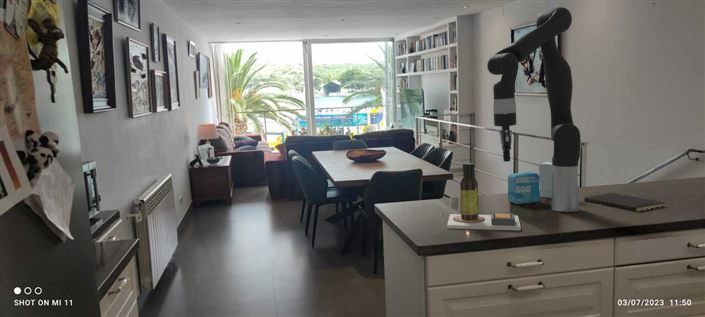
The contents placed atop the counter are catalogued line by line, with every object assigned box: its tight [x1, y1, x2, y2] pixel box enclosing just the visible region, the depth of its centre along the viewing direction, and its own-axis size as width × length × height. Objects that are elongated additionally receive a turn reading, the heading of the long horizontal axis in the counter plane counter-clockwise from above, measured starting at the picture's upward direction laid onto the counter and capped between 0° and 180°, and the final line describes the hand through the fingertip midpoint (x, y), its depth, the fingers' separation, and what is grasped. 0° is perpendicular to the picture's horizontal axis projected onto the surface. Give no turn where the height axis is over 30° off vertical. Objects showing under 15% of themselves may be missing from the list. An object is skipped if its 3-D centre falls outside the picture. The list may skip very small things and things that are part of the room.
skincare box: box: [538, 161, 552, 199], centre depth 220 cm, size 8×6×15 cm
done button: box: [495, 214, 511, 218], centre depth 176 cm, size 5×5×2 cm
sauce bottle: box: [459, 162, 480, 220], centre depth 182 cm, size 6×6×20 cm
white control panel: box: [446, 212, 522, 231], centre depth 181 cm, size 24×16×4 cm, turn 76°
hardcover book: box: [583, 192, 665, 213], centre depth 203 cm, size 16×23×2 cm
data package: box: [507, 171, 540, 205], centre depth 212 cm, size 12×4×12 cm, turn 106°
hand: (506, 161), depth 181 cm, fingers closed
